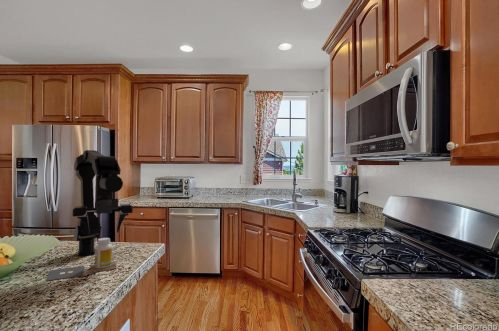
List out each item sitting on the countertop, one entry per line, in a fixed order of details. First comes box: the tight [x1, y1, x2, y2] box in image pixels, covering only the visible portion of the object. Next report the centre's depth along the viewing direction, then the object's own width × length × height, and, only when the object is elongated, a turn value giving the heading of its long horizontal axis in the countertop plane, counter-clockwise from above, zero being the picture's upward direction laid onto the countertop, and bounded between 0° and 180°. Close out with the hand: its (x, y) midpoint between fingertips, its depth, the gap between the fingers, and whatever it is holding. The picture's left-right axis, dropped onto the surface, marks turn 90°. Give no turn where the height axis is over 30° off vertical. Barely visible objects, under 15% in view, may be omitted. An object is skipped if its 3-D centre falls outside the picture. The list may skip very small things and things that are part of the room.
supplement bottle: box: [94, 237, 113, 268], centre depth 98 cm, size 5×5×10 cm
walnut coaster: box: [89, 260, 117, 273], centre depth 98 cm, size 8×8×1 cm
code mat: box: [45, 265, 85, 282], centre depth 91 cm, size 10×10×1 cm
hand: (103, 233), depth 98 cm, fingers open, 9 cm apart
